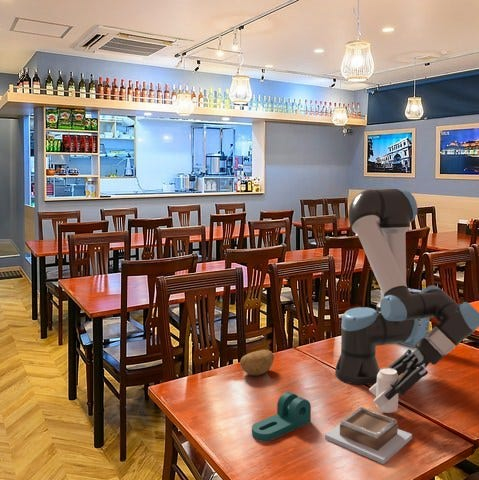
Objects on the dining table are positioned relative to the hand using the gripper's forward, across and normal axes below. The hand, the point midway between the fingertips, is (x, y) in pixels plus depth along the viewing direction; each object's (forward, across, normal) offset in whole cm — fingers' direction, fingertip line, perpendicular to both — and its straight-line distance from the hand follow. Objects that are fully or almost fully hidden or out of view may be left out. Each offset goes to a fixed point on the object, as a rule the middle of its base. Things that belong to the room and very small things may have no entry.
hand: (374, 398), depth 145 cm
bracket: (+24, -10, +16) cm, 30 cm away
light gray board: (+6, -14, 0) cm, 16 cm away
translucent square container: (+5, -14, +1) cm, 15 cm away
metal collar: (+3, -14, +3) cm, 15 cm away
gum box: (-13, +61, -21) cm, 66 cm away
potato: (+29, +27, +21) cm, 45 cm away
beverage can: (0, 0, -5) cm, 5 cm away
